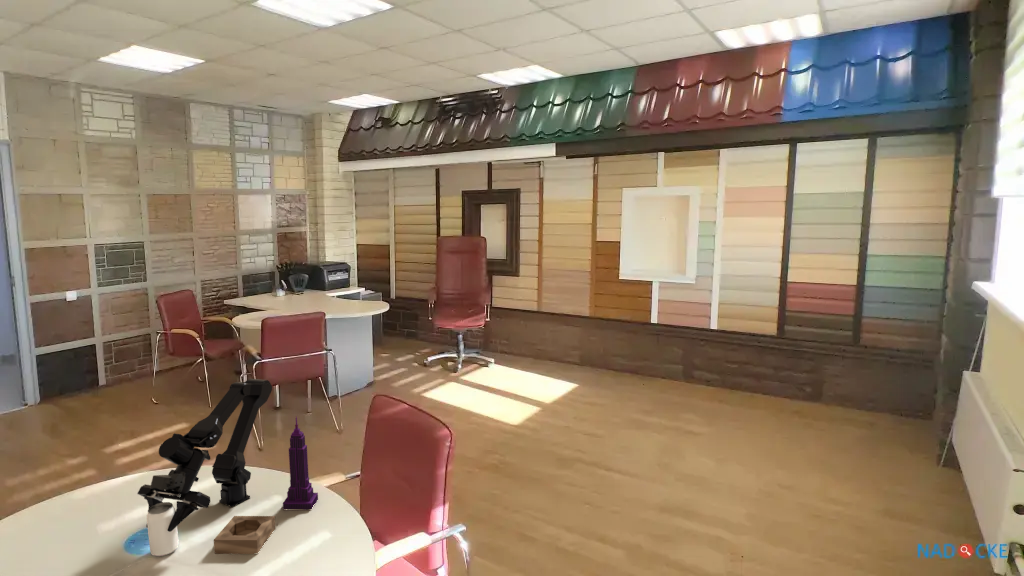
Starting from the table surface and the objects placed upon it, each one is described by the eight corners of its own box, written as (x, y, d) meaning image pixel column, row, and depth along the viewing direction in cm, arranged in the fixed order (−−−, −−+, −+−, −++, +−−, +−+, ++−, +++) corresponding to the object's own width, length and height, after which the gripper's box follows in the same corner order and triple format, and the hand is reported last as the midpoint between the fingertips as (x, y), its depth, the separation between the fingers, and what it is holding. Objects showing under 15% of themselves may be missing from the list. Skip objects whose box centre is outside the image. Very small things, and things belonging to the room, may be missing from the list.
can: (165, 558, 147) (161, 516, 145) (144, 555, 148) (139, 513, 146) (184, 543, 153) (180, 502, 151) (164, 540, 155) (159, 499, 153)
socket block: (235, 528, 161) (234, 515, 161) (275, 529, 161) (274, 516, 161) (214, 553, 150) (213, 539, 149) (257, 553, 150) (256, 540, 149)
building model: (318, 499, 177) (314, 407, 173) (311, 510, 171) (306, 415, 166) (291, 498, 178) (285, 407, 173) (282, 510, 171) (277, 415, 167)
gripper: (139, 456, 153) (106, 517, 144) (198, 464, 149) (169, 526, 140) (165, 470, 162) (136, 527, 153) (222, 477, 157) (196, 537, 149)
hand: (158, 529), depth 148 cm, fingers closed on can, 6 cm apart
